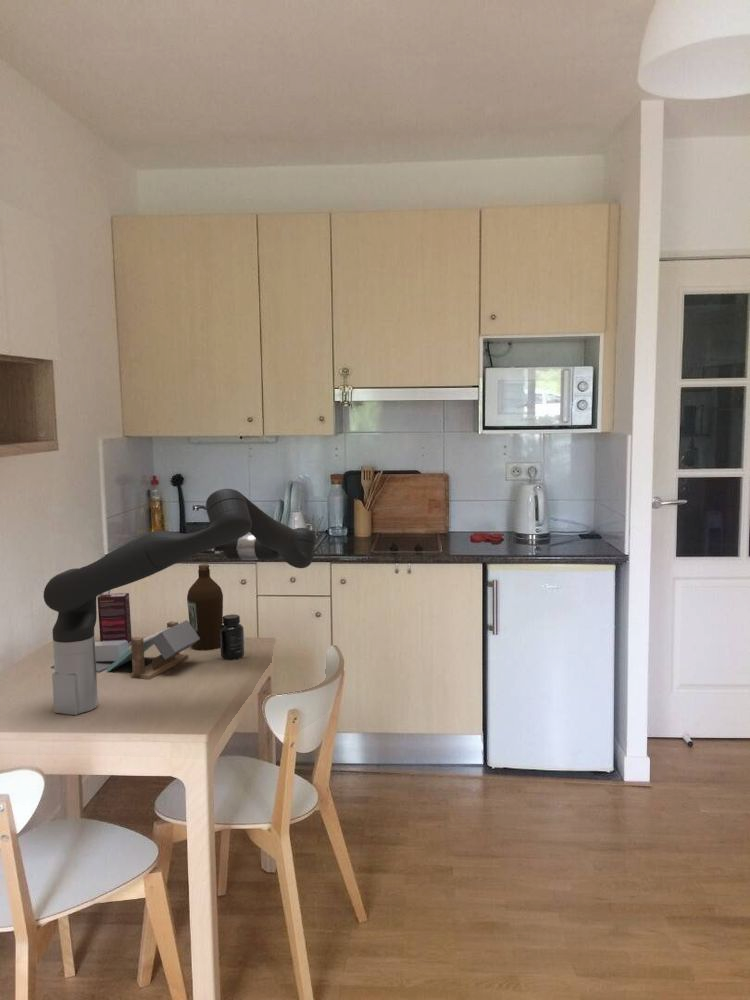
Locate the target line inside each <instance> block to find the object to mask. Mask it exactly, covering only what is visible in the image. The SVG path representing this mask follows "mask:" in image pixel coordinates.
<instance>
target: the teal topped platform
mask: <svg viewBox="0 0 750 1000" xmlns="http://www.w3.org/2000/svg"><path fill="white" fill-rule="evenodd" d="M199 639H200V638H199V636H198V635H197V633H196V632H195V630H194V629H193V628H192V626H191V625H190V623H189V619H186V620H184V621H182V622H180V623H178V625H175V626H173V627H168V628H167V627H166V628H164V629H162V630H160V631H157V632H156V633H154V634H151V635H149V636H147V637H145V638H144V637H143V643H144V653H145V652H146V651H148V650H149V649H150V648H151V647H152V646H153V645H154V646H155V648H156V649H157V650H158V652H159V653H160V655H162V656H163V658H164V659H165V660H166V659H168V658H170V657H172V656H174V655H175V654H177V653H179V654H180V653H181V652H183V651H185V650H187V649H188V648H190V647H191V646H192V645H193V644H194V643H196V642H197V641H198V640H199ZM129 662H132V648H129V650H128V651H127V652H126V653H125V654H124V655H122V656H121V657H120V658H119V659H117V660H116V661H115V662H114V663H113V664H111V665H110V666H109V667H108V668H106V670H105V671H106V672H108V673H109V672H111V671H113V670H115V669H116V668H118V667H121V666H122V665H125V664H126V663H129Z"/></svg>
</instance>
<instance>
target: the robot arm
mask: <svg viewBox="0 0 750 1000" xmlns="http://www.w3.org/2000/svg"><path fill="white" fill-rule="evenodd" d="M205 502H206V503H205V509H206V513H207V517H208V521H209V525H210V526H208V527H206V528H204V529H202V530H200V531H196V532H191V533H180V532H174V531H168V530H154V531H150V532H148V533H146V534H143V535H141V536H138V537H137V538H135V539H133V540H130V541H128V542H126V543H125V544H123V545H121V546H119V547H117V548H115V549H114V550H112V551H111V552H109V553H107V554H106V555H104V556H102V557H101V558H99V559H97V560H96V561H94V562H92V563H90V564H88V565H84V566H82V567H80V568H78V567H77V568H71V569H70V568H69V569H66V570H65V571H63V572H60V573H58V574H56V575H54V576H53V577H51V578H50V579H49V581H48V582H47V583H46V585H45V587H44V590H43V601H44V603H45V604H46V606H47V607H48V608H49V609H51V610H52V611H55V612H58V613H57V619H56V621H55V623H54V626H53V627H52V643H53V644H52V646H53V647H52V648H53V662H54V663H53V664H54V666H55V668H54V672H53V673H52V675H51V676H52V677H51V679H52V693H53V694H52V695H53V709H54V711H53V712H54V713H56V714H64V715H71V716H72V715H73V716H74V715H75V716H77V715H79V714H82V713H86V712H90V711H92V710H94V709H96V708H97V707H98V706H99V696H98V695H99V694H98V693H99V691H98V678H97V677H98V676H97V673H98V672H96V655H95V642H96V640H95V639H96V638H95V626H96V623H97V615H98V612H97V610H98V608H97V597H98V596H100V595H101V594H105V593H107V592H109V591H111V590H114V589H117V588H121V587H125V586H126V585H130V584H132V583H135V582H138V581H140V580H142V579H145V578H148V577H151V576H152V575H155V574H157V573H159V572H161V571H164V570H165V569H168V568H170V567H171V566H174V565H176V564H178V563H179V562H182V561H185V560H186V559H190V558H191V557H193V556H196V555H198V554H209V555H213V554H222V553H224V555H225V557H226V558H227V560H228V559H229V560H239V561H240V560H241V561H254V560H260V561H261V560H265V561H276V560H278V559H280V558H282V559H283V560H284V561H285V562H286V564H288V565H290V566H291V567H293V568H296V569H304V568H308V567H309V566H310V565H311V564H312V562H313V560H314V551H315V544H316V534H315V532H313V531H312V530H311V529H309V528H307V527H298V528H291V527H289V526H288V525H286V524H284V523H282V522H280V521H278V520H276V519H274V518H273V517H271V516H270V515H268V514H267V513H266V512H264V511H263V510H262V509H260V507H258V506H257V505H256V504H254V503H253V502H252V501H251V500H249V499H248V498H247V497H246V496H245V495H244V494H243V493H242V492H240V491H238V490H237V489H232V488H221V489H218V490H216V491H214V492H212V493H211V494H210V495H209V496H208V497H207V499H206V501H205Z"/></svg>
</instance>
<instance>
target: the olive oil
mask: <svg viewBox="0 0 750 1000" xmlns="http://www.w3.org/2000/svg"><path fill="white" fill-rule="evenodd" d="M197 573H198V578H197V579H196V581H195V582H194V583H193V584H192V585H190V587H189V589H188V591H187V594H186V595H187V596H186V600H187V603H186V604H187V610H188V622H189V623H190V625H191V626H192V628H193V629H194V630H195V632H196V633H197V635H198V636H199V638H200V639H199V640H198V641H197V642H196V643H194V644H193V645H192V646H190V647H191V648H192V649H193V650H197V651H210V650H209V649H211V650H214V649H213V648H216V649H218V647H219V648H220V628H221V626H223V625H224V624H223V616H224V615H223V614H224V609H223V608H224V594H223V591H222V588H221V586H220V585H219V584H218V583H217V582H216V581H215V580H214V579H212V577H211V569H210V564H206V563H205V564H204V563H203V564H198V570H197Z"/></svg>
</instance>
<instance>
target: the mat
mask: <svg viewBox="0 0 750 1000" xmlns="http://www.w3.org/2000/svg"><path fill="white" fill-rule="evenodd" d="M114 662H115V661H96V673H101V672H103V671H106V670H105V669H106V668H108V667H109V666H110V665H111V664H113V663H114ZM50 669H55V666H54V665H52V666H51V667H50Z"/></svg>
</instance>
